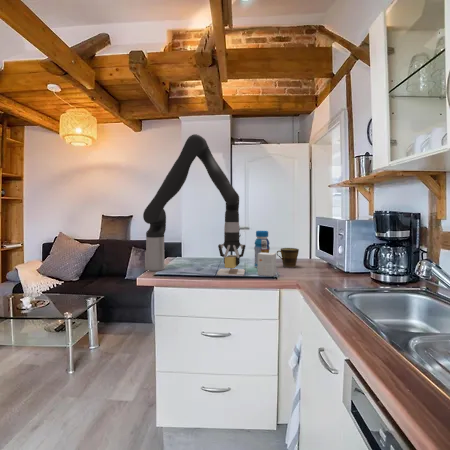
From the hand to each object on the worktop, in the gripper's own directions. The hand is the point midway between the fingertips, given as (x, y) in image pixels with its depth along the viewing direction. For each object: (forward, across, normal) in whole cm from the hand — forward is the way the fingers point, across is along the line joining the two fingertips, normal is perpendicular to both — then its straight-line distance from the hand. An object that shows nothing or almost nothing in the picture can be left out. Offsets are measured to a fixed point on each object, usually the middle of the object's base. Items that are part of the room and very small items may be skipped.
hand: (231, 264), depth 150 cm
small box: (+4, +17, -2) cm, 18 cm away
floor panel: (+4, 0, 0) cm, 4 cm away
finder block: (+1, 0, 0) cm, 1 cm away
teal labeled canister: (+4, +15, +18) cm, 24 cm away
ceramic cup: (+4, +29, +20) cm, 36 cm away
